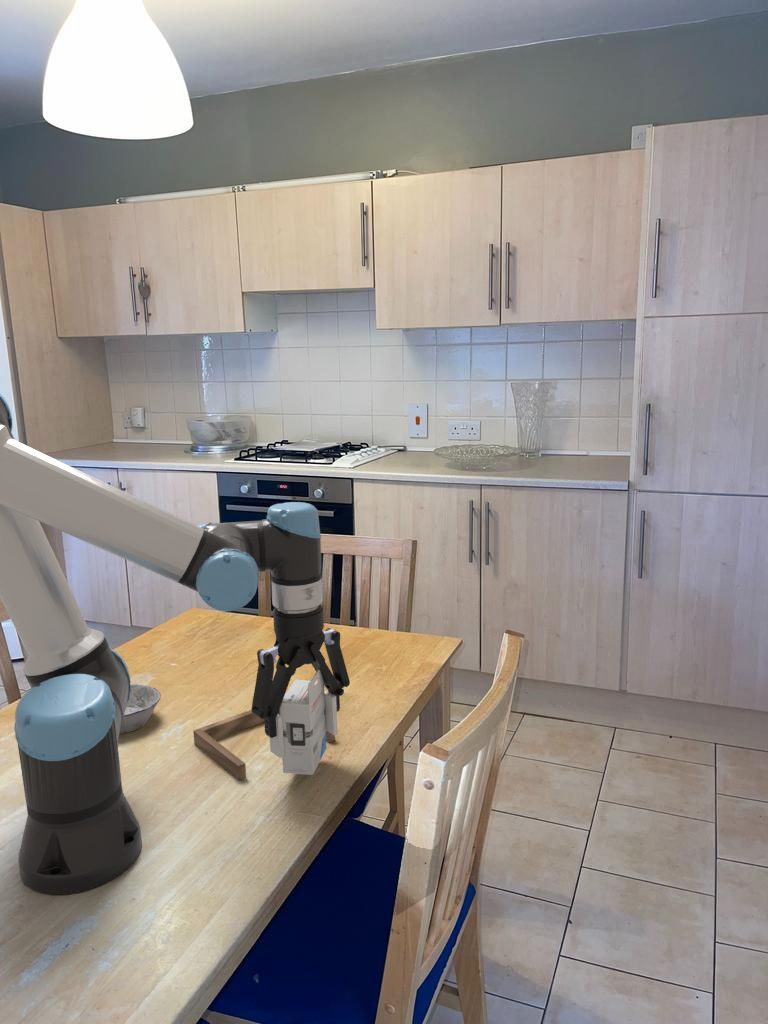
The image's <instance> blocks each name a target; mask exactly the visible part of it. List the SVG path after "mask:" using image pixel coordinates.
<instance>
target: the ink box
mask: <svg viewBox="0 0 768 1024" xmlns="http://www.w3.org/2000/svg"><path fill="white" fill-rule="evenodd" d="M324 691H325V685H324V680H323V677H322V674H321V671H320V669H318V671H317V672H316V671H315V674H314V675H313V676H312V678H311V680H308V679H307V680H305V679H294V681H293V683H292V684H291V686H290V687H289V689H287V690H286V693H285V695H284V698H283V701H282V704H281V706H280V716H282V723H283V741H284V757H281V758H282V773H284V774H293V775H294V774H295V775H304V776H305V775H307V776H313V775H314V774H315V772H316V770H317V768H318V765H319V763H320V762H321V760H322V757H323V755H324V754H325V751H326V750H327V741H326V721H325V694H324Z"/></svg>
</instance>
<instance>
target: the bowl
mask: <svg viewBox="0 0 768 1024" xmlns="http://www.w3.org/2000/svg"><path fill="white" fill-rule="evenodd" d="M130 685H131V691H130V697H129V701H128V703H127V706H126V710H125V713H124V717H123V721H122V724H121V728H120V733H119V735H120V734H126V733H130V732H134V731H137V730H139V729H141V728H142V727H144V726H145V725H146V724H147V723H148V721H149V720H150V717H151V716H152V714H153V712H154V710H155V708H156V706H157V705H158V703H159V702H160V700H161V696H162V695H161V692H160V691H159V690H158V689H156V687H153V686H149V685H144V684H138V683H132V684H130Z"/></svg>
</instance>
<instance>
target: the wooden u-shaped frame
mask: <svg viewBox="0 0 768 1024" xmlns="http://www.w3.org/2000/svg"><path fill="white" fill-rule="evenodd" d="M278 714H279V715H280V709H279V712H278ZM262 723H264V719H261V718H260V717H258V716H257V715H255V714H254V713H252V711H251V709H249V710H247V711H244V712H241V713H239V714H238V713H237V714H236V715H232V716H230V717H228V718H224V719H221V720H219V721H216V722H213V723H210V724H207V725H205V726H203V727H200V728H197V729H194V730H193V731H192V732H193V744H194V745H195V746H196V747H197V748H198V749H200V750H201V751H202V752H204V753H205V754H206V755H207V756H208V757H210V758H211V759H212V760H214V761H215V762H216V763H217V764H218V765H219V766H220V767H222V768H223V769H224V770H226V771H227V772H228V773H229V774H231V775H232V776H233V777H234V778H235V779H237V781H242V780H245V779H247V769H246V768H247V767H246V762H245V761H243V760H242V759H241V758H239V757H238V756H236V755H235V754H234V753H233V752H231V751H230V750H229V749H228V748H226V747H225V746H223V744H221V743H220V742H219V741H217V740H219V739H223V738H225V737H227V736H228V737H229V736H230V735H233V734H236V733H238V732H241V731H244V730H246V729H248V728H251V727H254V726H257V725H259V724H262ZM335 741H336V735H332V734H331V733H329V732H327V731H326V743H327V742H328V743H333V742H335Z"/></svg>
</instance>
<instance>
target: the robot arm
mask: <svg viewBox="0 0 768 1024" xmlns="http://www.w3.org/2000/svg"><path fill="white" fill-rule="evenodd" d="M12 431H13V417H12V411H11V408H10V406H9V404H8V402H7V400H6V399H5V397H4V396H3V395H2V393H0V600H1V602H2V604H3V606H4V608H5V611H6V612H7V615H8V616H9V618H10V621H11V622H12V625H13V627H14V628H15V631H16V633H17V635H18V636H19V639H20V641H21V643H22V645H23V647H24V649H25V651H26V653H27V659H26V661H25V662H24V665H23V668H22V673H23V674H24V677H25V678H26V680H27V683H28V684H29V686H30V689H28V691H26V692H25V694H23V695H22V697H21V698H20V700H18V703H17V705H16V708H15V713H14V714H15V716H14V719H15V721H14V734H15V737H14V738H15V740H16V742H17V748H18V754H19V755H18V756H19V763H20V769H21V776H22V783H23V784H22V785H23V791H24V798H25V804H26V812H27V817H26V822H25V824H24V829H23V835H22V839H21V843H20V847H19V852H18V867H19V868H18V869H19V873H20V878H21V880H22V882H23V883H24V884H25V885H26V886H27V887H28V888H29V889H31V890H33V891H36V892H39V893H43V894H48V895H67V894H75V893H79V892H83V891H88V890H91V889H93V888H97V887H99V886H101V885H103V884H106V883H108V882H110V881H112V880H114V879H115V878H116V877H119V875H121V874H123V873H124V872H125V871H127V869H128V868H129V867H131V866H132V865H133V863H134V862H135V861H136V860H137V858H138V857H139V855H140V853H141V849H142V846H143V843H142V842H143V841H142V832H141V826H140V823H139V821H138V819H137V817H136V815H135V813H134V811H133V809H132V807H131V805H130V804H129V802H128V800H127V798H126V796H125V794H124V791H123V785H122V776H121V775H122V773H121V764H120V755H119V736H120V734H121V733H120V728H121V724H122V721H123V717H124V713H125V710H126V706H127V703H128V701H129V697H130V691H131V685H132V684H131V681H132V680H131V676H130V675H131V674H130V671H129V668H128V665H127V664H126V661H125V660H124V658H123V657H122V656H121V655H120V654H119V652H117V651H116V650H115V649H113V648H111V647H110V645H109V643H108V641H107V639H106V636H105V634H104V633H103V631H100V630H97V629H94V628H91V627H89V626H88V624H87V621H86V619H85V618H84V615H83V614H82V611H81V608H80V607H79V605H78V604H79V603H78V602H77V600H76V597H75V596H74V594H73V592H72V589H71V587H70V585H69V582H68V580H67V578H66V576H65V574H64V572H63V570H62V568H61V566H60V563H59V561H58V559H57V557H56V554H55V552H54V549H53V548H52V547H51V544H50V541H49V539H48V538H47V536H46V533H45V530H44V529H43V527H42V524H45V525H47V526H49V527H51V528H54V529H56V530H58V531H61V533H62V532H63V533H64V534H67V535H70V536H72V537H74V538H75V539H78V540H80V541H83V542H85V543H86V544H87V543H88V544H89V545H92V546H94V547H97V548H98V549H101V550H104V551H106V552H108V553H110V554H113V555H115V556H117V557H119V558H122V559H123V560H126V561H128V562H130V563H132V564H135V565H136V566H137V565H138V566H140V567H141V568H144V569H146V570H148V571H151V572H153V573H155V574H157V575H159V576H162V577H164V578H167V579H168V580H170V581H171V580H172V581H173V582H176V583H177V584H180V585H182V586H184V587H187V588H188V589H190V590H193V591H195V592H197V593H198V595H199V597H200V598H201V599H202V600H203V602H204V603H205V604H206V605H207V606H209V607H211V609H214V610H217V611H220V612H230V611H231V612H233V611H237V610H239V609H241V608H243V607H244V606H246V605H248V604H249V602H251V600H252V599H253V598H254V596H255V595H256V592H257V589H258V585H259V578H260V577H259V574H260V572H268V571H270V574H271V575H270V579H271V599H272V600H271V602H272V603H271V604H272V606H273V607H274V609H273V610H272V616H273V631H274V635H275V641H274V644H273V647H269V648H267V649H265V650H264V649H263V648H260V649H258V650H257V652H256V656H257V662H258V665H257V673H256V679H255V686H254V691H253V698H252V702H251V703H252V704H251V709H250V710H251V711H252V713H254V714H255V715H257V716H258V717H260V718H261V719H264V722H263V724H264V733H265V735H266V736H267V737H269V750H270V752H271V753H272V754H273V755H275V756H277V757H278V758H279V759H281V758H282V757H284V741H283V723H282V716H280V715H279V714H278V712H279V709H280V706H281V704H282V701H283V698H284V695H285V694H286V693H287V691H288V687H289V684H290V681H291V680H292V676H294V675H295V674H296V671H297V669H299V668H301V667H303V666H304V665H310V664H311V666H312V667H313V669H314V671H315V673H316V672H317V671H318V669H320V671H321V674H322V677H323V680H324V688H325V689H326V690H324V694H325V721H326V731H327V732H329V733H331V734H332V735H335V736H336V735H338V733H339V732H338V731H339V730H338V713H337V712H340V709H341V701H340V700H341V699H340V697H341V696H343V695H344V693H345V689H344V688H348V687H349V686H350V684H351V682H350V680H351V679H350V677H349V674H348V669H347V666H346V662H345V659H344V655H343V651H342V647H341V632H339V631H338V630H335V629H333V628H331V627H327V628H325V617H324V616H325V615H324V607H323V605H322V603H323V601H324V600H323V577H322V576H323V575H322V542H321V538H322V535H321V528H320V519H319V511H318V509H317V508H316V507H315V505H313V504H311V503H309V502H308V503H307V502H301V501H297V502H296V501H290V502H283V503H275V504H273V505H271V506H270V507H269V508H268V509H267V515H266V518H265V519H261V520H249V521H235V522H234V521H231V522H218V523H217V522H215V523H214V522H207V523H203V524H197V525H196V524H194V523H191V522H190V521H187V520H186V519H183V518H181V517H179V516H178V515H175V514H172V513H171V512H168V511H166V510H164V509H162V508H160V507H158V506H156V505H153V504H152V503H149V502H147V501H146V500H143V499H141V498H139V497H137V496H135V495H132V494H131V493H128V492H126V491H124V490H122V489H120V488H117V487H115V486H113V485H111V484H109V483H107V482H105V481H103V480H101V479H98V478H96V477H94V476H92V475H91V474H90V475H89V474H87V473H86V472H83V471H81V470H79V469H77V468H75V467H73V466H71V465H69V464H67V463H64V462H63V461H60V460H58V459H56V458H54V457H52V456H49V455H48V454H45V453H43V452H41V451H39V450H37V449H35V448H33V447H31V446H28V445H26V444H24V443H22V442H20V441H18V440H16V439H15V437H14V435H13V433H12ZM324 628H325V630H324ZM323 644H324V646H325V650H326V654H327V657H328V661H329V665H330V668H331V669H330V668H329V665H328V664H327V662H326V659H325V657H324V655H323V653H322V652H321V648H322V646H323ZM277 656H278V659H276V658H277ZM275 669H276V671H275ZM274 671H275V672H274ZM119 733H120V734H119Z"/></svg>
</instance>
